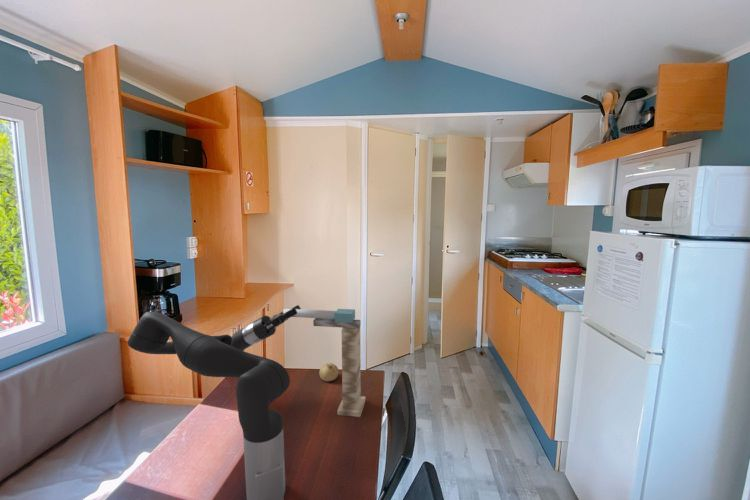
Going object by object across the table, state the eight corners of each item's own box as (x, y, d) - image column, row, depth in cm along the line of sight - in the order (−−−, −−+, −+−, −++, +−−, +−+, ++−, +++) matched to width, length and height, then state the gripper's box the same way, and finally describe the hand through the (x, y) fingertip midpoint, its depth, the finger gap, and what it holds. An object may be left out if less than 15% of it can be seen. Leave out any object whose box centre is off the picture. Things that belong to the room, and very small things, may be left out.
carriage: (355, 317, 118) (354, 309, 117) (351, 322, 113) (351, 313, 112) (287, 314, 121) (287, 306, 121) (281, 318, 116) (281, 310, 116)
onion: (315, 379, 139) (315, 363, 138) (329, 372, 145) (329, 356, 144) (328, 386, 134) (328, 369, 133) (342, 378, 140) (342, 362, 139)
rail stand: (365, 400, 124) (365, 316, 120) (360, 417, 114) (359, 326, 110) (321, 396, 126) (319, 314, 122) (312, 412, 116) (309, 323, 112)
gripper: (243, 328, 114) (284, 305, 111) (263, 315, 128) (299, 294, 125) (254, 347, 114) (295, 325, 111) (273, 332, 128) (310, 312, 125)
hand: (297, 309), depth 118 cm, fingers closed on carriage, 3 cm apart
